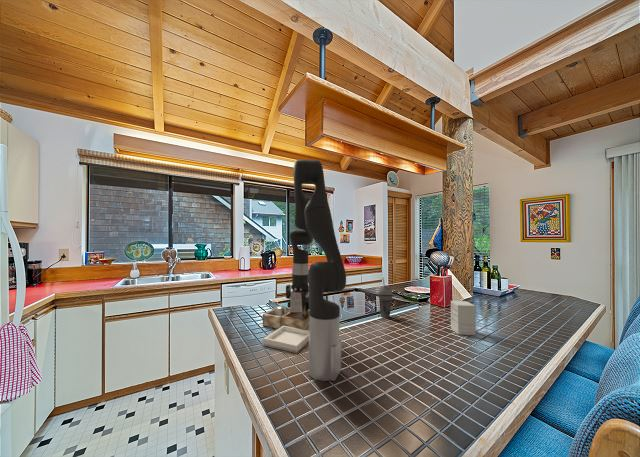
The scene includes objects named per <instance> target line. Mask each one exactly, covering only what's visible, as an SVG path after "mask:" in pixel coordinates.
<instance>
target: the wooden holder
mask: <svg viewBox="0 0 640 457" xmlns="http://www.w3.org/2000/svg"><path fill="white" fill-rule="evenodd" d="M309 311H310V310H308V318H306V319H305V320H301V319H296V318H291V317H290V306H289V307H288V306H286V314H285V315H283V316H275V308H273V309H271V310H269V311H266V312H264V313H263V314H262V327H263V326H264V327H268V328H274V329H279V328H280V327H282V326H288V327H293V328H298V329H303V330H309Z"/></svg>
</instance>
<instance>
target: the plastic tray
mask: <svg viewBox="0 0 640 457" xmlns="http://www.w3.org/2000/svg"><path fill="white" fill-rule="evenodd" d="M262 340H263V341H262V342H263V344H262V345H263V346H265V347H269V348H273V349H277V350H282V351H285V352H290V353H295V354H297V353H298V352H300V350H301V349H302V348H304V347H305V346H306V345H307V344H309V330H303V329H298V328H293V327H288V326H282V327H280V328H279V329H278V328H276V329H275V330H274V331H273V332H271V333H270V334H267V335H266V336H265V337H264V338H263V339H262Z"/></svg>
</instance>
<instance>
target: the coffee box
mask: <svg viewBox="0 0 640 457" xmlns="http://www.w3.org/2000/svg"><path fill="white" fill-rule="evenodd" d="M307 292H308V294H309V290H308V291H307ZM307 292H306V291H298V290H297V291H294V290H291V303H290V302H289V308H290V317H291V318H296V319H301V320H305V319H306V318H308V311H309V310H308V311H306V298H305V296H306V295H307Z"/></svg>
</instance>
